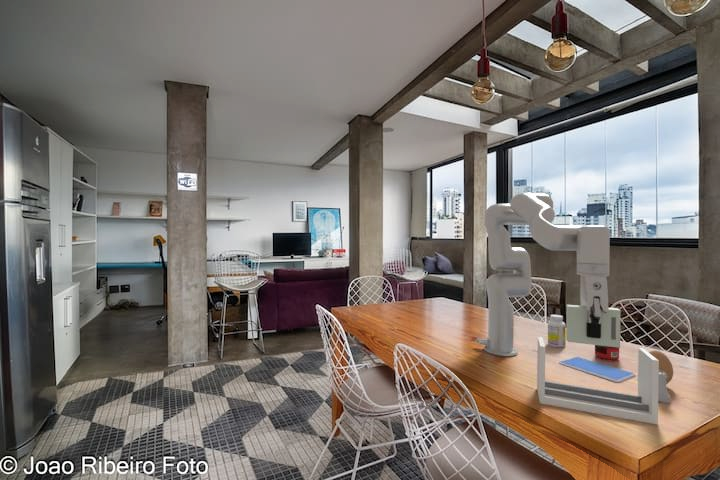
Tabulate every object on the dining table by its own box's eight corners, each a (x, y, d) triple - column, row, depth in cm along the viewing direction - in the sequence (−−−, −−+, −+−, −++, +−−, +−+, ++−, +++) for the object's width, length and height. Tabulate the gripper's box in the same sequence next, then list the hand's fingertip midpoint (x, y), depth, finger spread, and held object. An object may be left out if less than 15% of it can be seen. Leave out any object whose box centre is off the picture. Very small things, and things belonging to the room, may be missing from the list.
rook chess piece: (645, 396, 99) (646, 369, 99) (659, 395, 99) (660, 368, 99) (660, 403, 94) (661, 375, 94) (675, 403, 95) (675, 375, 95)
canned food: (620, 357, 131) (620, 329, 131) (617, 363, 125) (618, 333, 125) (596, 352, 136) (596, 325, 136) (593, 357, 131) (593, 329, 130)
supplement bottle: (560, 343, 149) (561, 314, 148) (568, 348, 142) (568, 317, 142) (544, 342, 149) (545, 313, 149) (551, 347, 143) (552, 317, 143)
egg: (642, 378, 112) (642, 345, 112) (673, 385, 107) (673, 350, 107) (640, 385, 107) (640, 350, 106) (672, 392, 101) (673, 356, 101)
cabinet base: (539, 403, 94) (540, 346, 94) (537, 388, 103) (537, 336, 103) (657, 424, 84) (658, 360, 84) (643, 406, 93) (643, 348, 93)
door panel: (567, 341, 95) (568, 306, 95) (566, 338, 97) (566, 304, 97) (620, 347, 90) (620, 310, 90) (616, 344, 93) (617, 308, 93)
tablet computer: (557, 364, 125) (557, 361, 125) (576, 359, 131) (576, 355, 131) (617, 385, 108) (617, 380, 108) (636, 377, 114) (636, 373, 114)
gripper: (618, 273, 85) (617, 346, 85) (601, 268, 99) (600, 330, 100) (582, 271, 88) (582, 342, 88) (571, 267, 103) (571, 327, 103)
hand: (592, 335), depth 94 cm, fingers closed on door panel, 3 cm apart
